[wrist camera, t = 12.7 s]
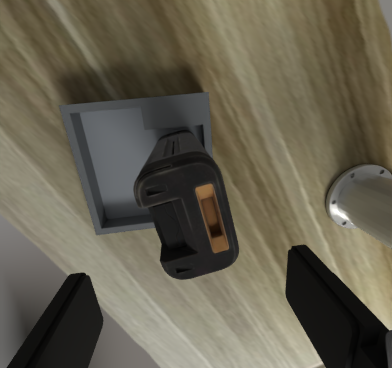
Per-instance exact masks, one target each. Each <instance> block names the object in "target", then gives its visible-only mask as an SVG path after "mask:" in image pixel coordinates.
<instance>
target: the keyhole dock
mask: <svg viewBox="0 0 392 368" xmlns="http://www.w3.org/2000/svg"><path fill="white" fill-rule="evenodd" d="M59 107H60V111H61V114H62V118H63V121H64V125H65V128H66V132H67V135H68V139H69V142H70V146H71V149H72V152H73V156H74V159H75V163H76V166H77V170H78V173H79V177H80V180H81V184H82V187H83V191H84V194H85V197H86V201H87V204H88V208H89V211H90V215H91V218H92V222H93V225H94V229H95V232H96V235H101V234H109V233H117V232H125V231H133V230H141V229H149V228H155V225H154V223H153V220H152V218H151V215H150V213H149V210H148V208H144V209H143V208H138V206H137V203H136V200H135V197H134V192H133V186H134V182H135V180H136V178H137V177H138V175H139V173H140V171H141V169H142V168H143V166H144V164H145V162H146V161H147V159H148V157H149V156H150V154H151V152H152V150H153V149H154V147H155V145H156V143H157V142H158V140H159V139H160V137H162V136H164V135H166V134H170V133H173V132H177V131H180V130H189V131H191V132H192V133H193V134H194V136H195V137H196V138H197V140H198V141H199V142H200V143H201V145H202V146H203V147H204V149H205V150H206V151H207V152H208V154H209V155H210V156H211V158H212V159H213V155H212V139H211V124H210V108H209V92H204V93H193V94H181V95H170V96H159V97H148V98H137V99H126V100H115V101H104V102H93V103H82V104H70V105H59Z"/></svg>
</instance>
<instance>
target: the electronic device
mask: <svg viewBox="0 0 392 368" xmlns="http://www.w3.org/2000/svg"><path fill="white" fill-rule="evenodd" d="M133 192H134V197H135V200H136V203H137V206H138V208H143V209H144V208H148V210H149V213H150V215H151V218H152V220H153V223H154V225H155V228H156V231H157V233H158V236H159V238H160V241H161V243H162V246H161V256H160V262H161V264H162V267H163V269H164V270H165V272H166V273H167V274H168V275H169V276H171V277H173V278H176V279H180V280H184V279H191V278H194V277H198V276H202V275H205V274H209V273H212V272H216V271H219V270H222V269H225V268H227V267H229V266H230V265H232V264H233V263H234V262H235V260H236V259H237V257H238V254H239V246H238V240H237V236H236V232H235V228H234V223H233V219H232V215H231V211H230V207H229V202H228V198H227V194H226V190H225V185H224V181H223V177H222V174H221V171H220V169H219V167H218V165H217V164H216V163H215V161H214V160H213V159H212V158H211V156H210V155H209V154H208V152H207V151H206V150H205V149H204V147H203V146H202V145H201V143H200V142H199V141H198V140H197V138H196V137H195V136H194V134H193V133H192V132H191V131H189V130H180V131H177V132H173V133H170V134H166V135H164V136H162V137H160V139H159V140H158V142H157V143H156V145H155V147H154V149H153V150H152V152H151V154H150V156H149V157H148V159H147V161H146V162H145V164H144V166H143V168H142V169H141V171H140V173H139V175H138V177H137V178H136V180H135V182H134V186H133Z"/></svg>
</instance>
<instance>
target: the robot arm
mask: <svg viewBox="0 0 392 368" xmlns="http://www.w3.org/2000/svg"><path fill="white" fill-rule="evenodd" d="M326 209H327V213H328V215H329V217H330V218H331V219H332V221H334V222H335V223H336V224H338V225H340V226H341V227H345V228H360V229H361V230H363V231H364V232H366V233H367V234H369V235H371V236H372V237H374V238H375V239H377V240H378V241H380V242H382V243H383V244H385V245H386V246H388V247H389V248H391V249H392V175H391V173H390V172H389V171H388V170H387V169H386V168H383V167H381V166H378V165H374V164H362V165H358V166H355V167H353V168H351V169H349V170H347V171H346V172H344V173H343V174H342V175H341V176H339V177H338V178H337V179H336V181H335V182H334V183H333V185H332V186H331V188H330V190H329V192H328V195H327V199H326ZM285 293H286V298H287V301H288V303H289V304H290V306H291V308H292V309H293V311H294V313H295V315H296V316H297V318H298V320H299V322H300V323H301V325H302V327H303V329H304V330H305V332H306V334H307V336H308V337H309V339H310V341H311V342H312V344H313V346H314V348H315V349H316V351H317V353H318V355H319V356H320V358H321V360H322V362H323V363H324V365H325V367H326V368H392V330H390V331H389V330H388V329H387V328H386V327H385V325H384V324H383V323H382V322H381V321H380V320H379V319H378V318H377V317H376V316H375V315H374V314H373V313H372V312H371V311H370V310H369V309H368V308H367V307H366V306H365V305H364V304H363V303H362V302H361V301H360V300H359V298H358V297H357V296H356V295H355V294H354V293H353V292H352V291H351V290H350V289H349V288H348V287H347V286H346V285H345V284H344V283H343V282H342V281H341V280H340V279H339V278H338V277H337V276H336V275H335V274H334V273H332V272H331V271H330V270H329V269H328V267H327V266H326V265H325V264H324V263H323V262H322V261H321V260H320V259H319V258H318V257H317V256H316V255H315V254H314V253H313V252H312V251H311V250H310V249H309V248H308V247H307V246H306V245H297V246H292V248H291V250H289V251H288V262H287V277H286V292H285ZM102 326H103V316H102V313H101V310H100V307H99V304H98V301H97V297H96V294H95V291H94V288H93V285H92V282H91V279H90V276H89V275H86V274H85V273H75V274H70V275H69V276H68V277H67V279H66V280H65V282H64V283H63V285H62V286H61V288H60V289H59V291H58V292H57V294H56V295H55V297H54V298H53V300H52V301H51V303H50V304H49V306H48V307H47V308H46V310H45V311H44V313H43V314H42V316H41V317H40V319H39V320H38V322H37V323H36V325H35V326H34V328H33V329H32V331H31V332H30V334H29V335H28V337H27V338H26V340H25V341H24V343H23V345H22V346H21V347H20V349H19V350H18V352H17V353H16V355H15V356H14V358H13V359H12V361H11V362H10V364H9V365H8V367H7V368H88V366H89V363H90V360H91V358H92V355H93V352H94V349H95V346H96V343H97V341H98V338H99V335H100V332H101V329H102Z"/></svg>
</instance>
